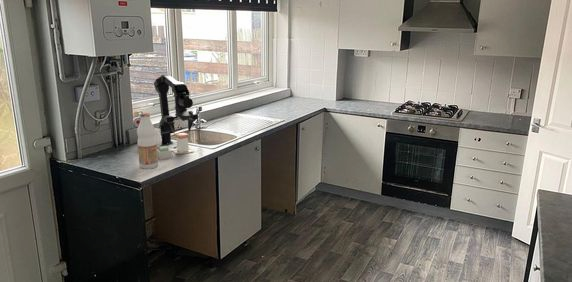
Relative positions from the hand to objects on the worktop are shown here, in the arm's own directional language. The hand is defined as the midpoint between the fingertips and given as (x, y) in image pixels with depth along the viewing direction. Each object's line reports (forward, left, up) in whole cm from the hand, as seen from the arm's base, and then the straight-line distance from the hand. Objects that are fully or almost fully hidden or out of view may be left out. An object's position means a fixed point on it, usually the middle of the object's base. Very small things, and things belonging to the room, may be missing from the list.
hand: (181, 132), depth 247 cm
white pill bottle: (0, 0, -11) cm, 11 cm away
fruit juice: (+14, -25, -12) cm, 31 cm away
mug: (-20, -9, -12) cm, 25 cm away
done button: (+3, -12, -9) cm, 16 cm away
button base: (+3, -12, -12) cm, 18 cm away
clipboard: (-2, 0, -12) cm, 12 cm away
